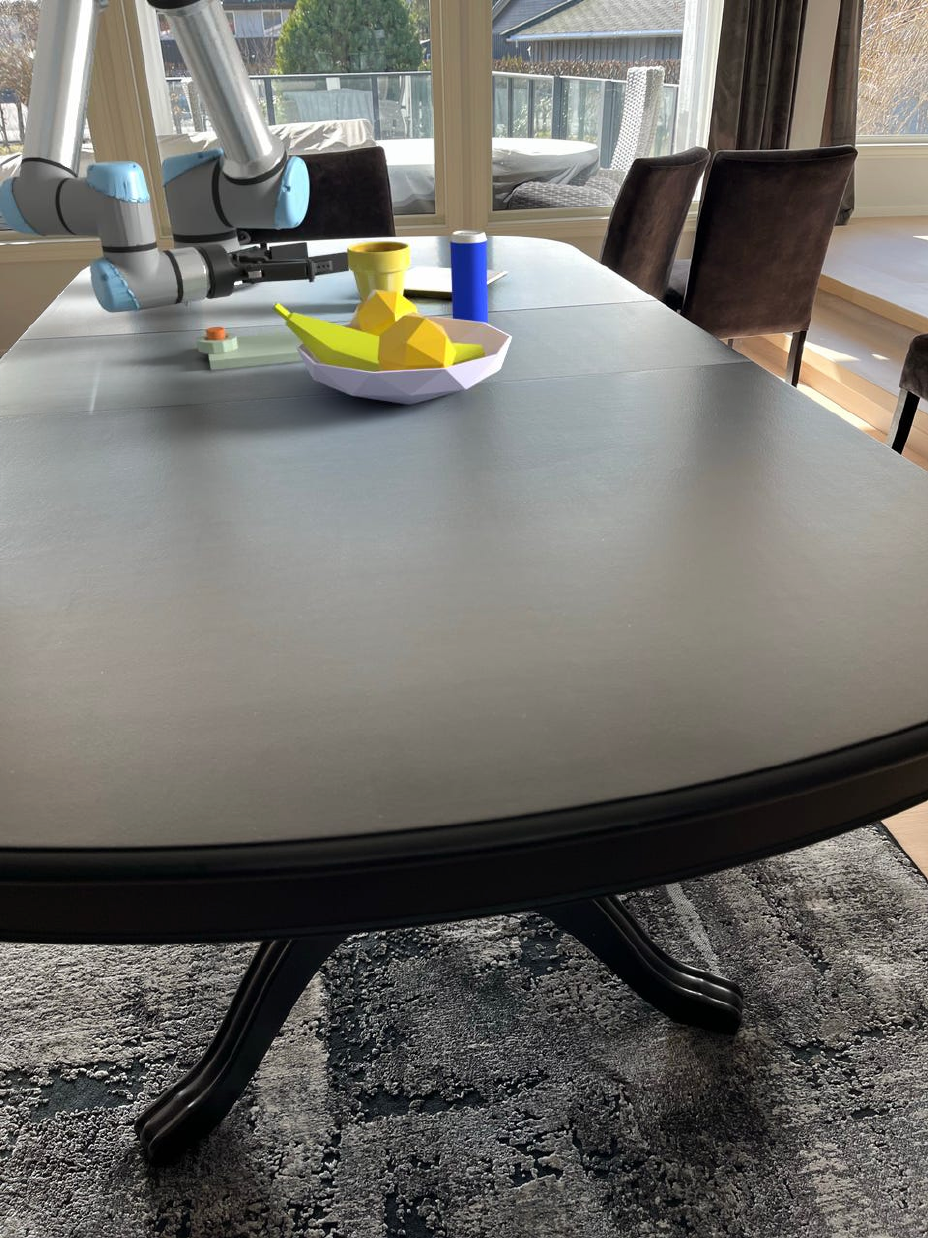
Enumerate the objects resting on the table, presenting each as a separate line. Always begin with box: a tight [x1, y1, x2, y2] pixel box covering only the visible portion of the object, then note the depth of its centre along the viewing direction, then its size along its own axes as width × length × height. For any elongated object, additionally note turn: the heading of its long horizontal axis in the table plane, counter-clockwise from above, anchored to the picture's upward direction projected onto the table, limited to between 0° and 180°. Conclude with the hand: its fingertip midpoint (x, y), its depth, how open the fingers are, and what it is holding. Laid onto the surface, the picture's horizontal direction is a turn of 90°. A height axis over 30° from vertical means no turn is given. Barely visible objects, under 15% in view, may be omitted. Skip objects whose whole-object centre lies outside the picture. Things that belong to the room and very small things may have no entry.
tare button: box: [205, 326, 226, 340], centre depth 134 cm, size 3×3×2 cm
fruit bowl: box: [272, 289, 513, 406], centre depth 118 cm, size 28×27×11 cm
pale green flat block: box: [196, 330, 304, 371], centre depth 136 cm, size 12×17×3 cm
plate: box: [403, 266, 509, 300], centre depth 171 cm, size 19×19×2 cm
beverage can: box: [449, 229, 489, 324], centre depth 136 cm, size 5×5×15 cm
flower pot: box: [346, 240, 411, 302], centre depth 158 cm, size 10×10×10 cm
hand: (326, 255), depth 151 cm, fingers open, 13 cm apart
